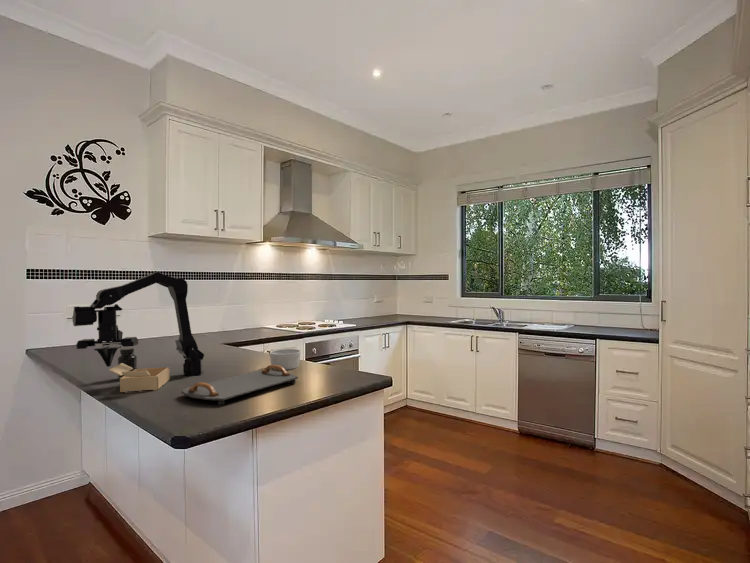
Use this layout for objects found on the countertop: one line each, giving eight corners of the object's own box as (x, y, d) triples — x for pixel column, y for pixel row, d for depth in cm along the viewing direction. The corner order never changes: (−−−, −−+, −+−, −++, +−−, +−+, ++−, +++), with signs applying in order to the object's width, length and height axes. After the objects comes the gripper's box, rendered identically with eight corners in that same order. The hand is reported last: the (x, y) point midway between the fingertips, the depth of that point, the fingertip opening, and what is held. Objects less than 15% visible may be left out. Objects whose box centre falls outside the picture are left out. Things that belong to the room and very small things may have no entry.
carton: (170, 379, 174) (170, 366, 174) (158, 390, 158) (157, 376, 158) (136, 381, 172) (135, 369, 172) (120, 392, 156) (119, 378, 156)
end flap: (150, 374, 157) (146, 370, 153) (150, 375, 157) (146, 371, 153) (125, 375, 156) (121, 371, 152) (125, 377, 156) (121, 372, 152)
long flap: (133, 368, 169) (122, 362, 168) (121, 375, 157) (109, 369, 157) (132, 369, 169) (121, 363, 168) (120, 376, 157) (108, 370, 157)
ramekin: (294, 371, 184) (293, 354, 184) (264, 370, 186) (264, 354, 186) (305, 364, 197) (305, 348, 197) (277, 364, 199) (277, 348, 199)
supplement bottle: (115, 381, 174) (114, 350, 174) (120, 377, 181) (119, 347, 180) (135, 379, 176) (134, 349, 176) (139, 375, 182) (138, 346, 182)
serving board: (263, 376, 178) (262, 360, 178) (305, 382, 165) (305, 366, 165) (172, 400, 146) (171, 381, 146) (215, 410, 133) (214, 390, 133)
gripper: (142, 320, 172) (143, 360, 172) (89, 322, 168) (90, 363, 168) (132, 323, 161) (133, 366, 161) (75, 325, 157) (76, 369, 157)
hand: (108, 366), depth 162 cm, fingers closed
